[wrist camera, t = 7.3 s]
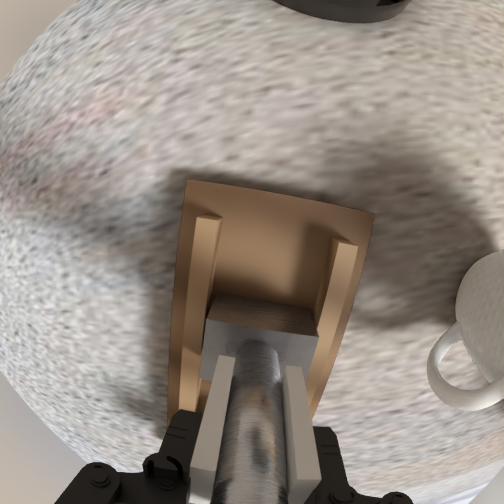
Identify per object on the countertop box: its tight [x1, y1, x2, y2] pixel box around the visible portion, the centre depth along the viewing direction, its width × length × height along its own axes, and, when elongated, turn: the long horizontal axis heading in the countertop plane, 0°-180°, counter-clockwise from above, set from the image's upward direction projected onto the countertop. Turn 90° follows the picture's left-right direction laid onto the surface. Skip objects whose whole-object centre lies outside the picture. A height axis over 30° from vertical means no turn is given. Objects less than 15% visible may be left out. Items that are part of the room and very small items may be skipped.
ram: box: [200, 293, 319, 504], centre depth 10 cm, size 4×6×18 cm, turn 80°
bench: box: [168, 179, 375, 504], centre depth 18 cm, size 26×12×8 cm, turn 170°
